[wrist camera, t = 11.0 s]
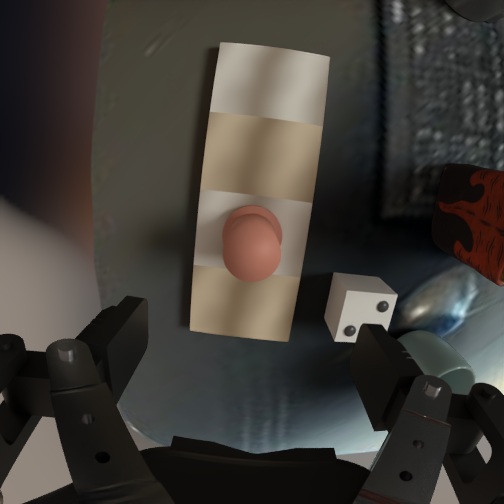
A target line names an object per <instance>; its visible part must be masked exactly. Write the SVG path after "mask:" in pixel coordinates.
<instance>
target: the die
mask: <svg viewBox="0 0 504 504" xmlns="http://www.w3.org/2000/svg"><path fill="white" fill-rule="evenodd" d="M396 299H397V294H396V293H395V292H394V291H393V290H392V289H391V288H390V287H389V286H388V285H387V284H385V283H384V282H383V281H382V280H381V279H380V278H379V277H372V276H363V275H354V274H344V273H335V272H334V273H333V278H332V283H331V288H330V293H329V297H328V302H327V306H326V311H325V315H324V319H325V321H326V323H327V326H328V328H329V330H330V332H331V335H332V337H333V339H334V341H336V342H356V339H357V335H358V332H359V329H360V326H361V325H362V324H363V323H368V324H382V325H383V326H384V328H385V329H386V331H387V330H388V326H389V323H390V320H391V316H392V313H393V310H394V306H395V303H396Z"/></svg>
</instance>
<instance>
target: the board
mask: <svg viewBox="0 0 504 504" xmlns="http://www.w3.org/2000/svg"><path fill="white" fill-rule="evenodd" d="M329 60H330V57H328V56H323V55H318V54H313V53H307V52H301V51H295V50H289V49H282V48H275V47H267V46H259V45H249V44H237V43H223V42H221V43H220V49H219V55H218V61H217V67H216V73H215V80H214V86H213V93H212V100H211V107H210V114H209V121H208V129H207V136H206V144H205V153H204V161H203V170H202V179H201V188H200V198H199V208H198V218H197V229H196V241H195V254H194V267H193V281H192V297H191V315H190V331H197V332H204V333H212V334H219V335H227V336H236V337H245V338H254V339H263V340H274V341H285V342H288V340H289V335H290V330H291V325H292V320H293V315H294V309H295V304H296V299H297V293H298V288H299V282H300V277H301V271H302V265H303V259H304V253H305V247H306V241H307V235H308V229H309V223H310V216H311V210H312V203H313V196H314V189H315V182H316V175H317V168H318V160H319V152H320V144H321V136H322V128H323V119H324V110H325V101H326V92H327V81H328V71H329ZM248 205H257V206H261V207H264V208H266V209H268V210H269V211H271V212H272V213H273V214H274V215H275V216H276V218H277V219H278V221H279V223H280V226H281V229H282V243H281V246H280V248H281V259H280V263H279V265H278V267H277V269H276V270H275V272H274V273H273V274H272V275H271V276H269V277H268V278H266V279H264V280H261V281H257V282H247V281H243V280H240V279H238V278H236V277H235V276H233V275H232V274H231V273H230V272H229V271H228V269H227V268H226V266H225V264H224V260H223V247H224V244H223V239H222V232H223V228H224V225H225V223H226V221H227V219H228V217H229V216H230V215H231V214H232V213H233V212H234V211H235V210H237V209H239V208H241V207H243V206H248Z"/></svg>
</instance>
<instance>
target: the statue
mask: <svg viewBox="0 0 504 504" xmlns="http://www.w3.org/2000/svg"><path fill="white" fill-rule="evenodd" d="M431 229H432V231H431V233H432V238H433V241H434V243H435V244H436V245H437V246H438V247H439V248H440V249H441V250H443V251H444V252H446V253H448V254H450V255H451V256H453V257H455V258H456V259H458V260H459V261H461V262H463V263H465V264H466V265H468V266H470V267H472V268H474V269H475V270H476V271H477V272H479V273H480V274H482V275H483V276H484V277H486V278H487V279H489V280H490V281H492V282H494V283H495V284H497V285H499V286H504V171H499V170H494V169H488V168H483V167H478V166H475V165H470V164H456V163H451V164H449V165H447V166H446V168H445V169H444V171H443V174H442V177H441V180H440V184H439V190H438V193H437V198H436V202H435V208H434V215H433V219H432V227H431Z"/></svg>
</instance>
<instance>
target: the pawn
mask: <svg viewBox="0 0 504 504" xmlns="http://www.w3.org/2000/svg"><path fill="white" fill-rule="evenodd" d="M222 239H223V244H224V247H223V260H224V264H225V266H226V268H227V269H228V271H229V272H230V273H231V274H232V275H233V276H235V277H236V278H238V279H240V280H243V281H247V282H257V281H261V280H264V279H266V278H268V277H269V276H271V275H272V274H273V273H274V272H275V270H276V269H277V267H278V265H279V263H280V259H281V248H280V246H281V243H282V229H281V226H280V223H279V221H278V219H277V218H276V216H275V215H274V214H273V213H272V212H271V211H269V210H268V209H266V208H264V207H261V206H257V205H248V206H243V207H241V208H239V209H237V210H235V211H234V212H233V213H232V214H231V215H230V216H229V217H228V219H227V221H226V223H225V225H224V228H223V232H222Z"/></svg>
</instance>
